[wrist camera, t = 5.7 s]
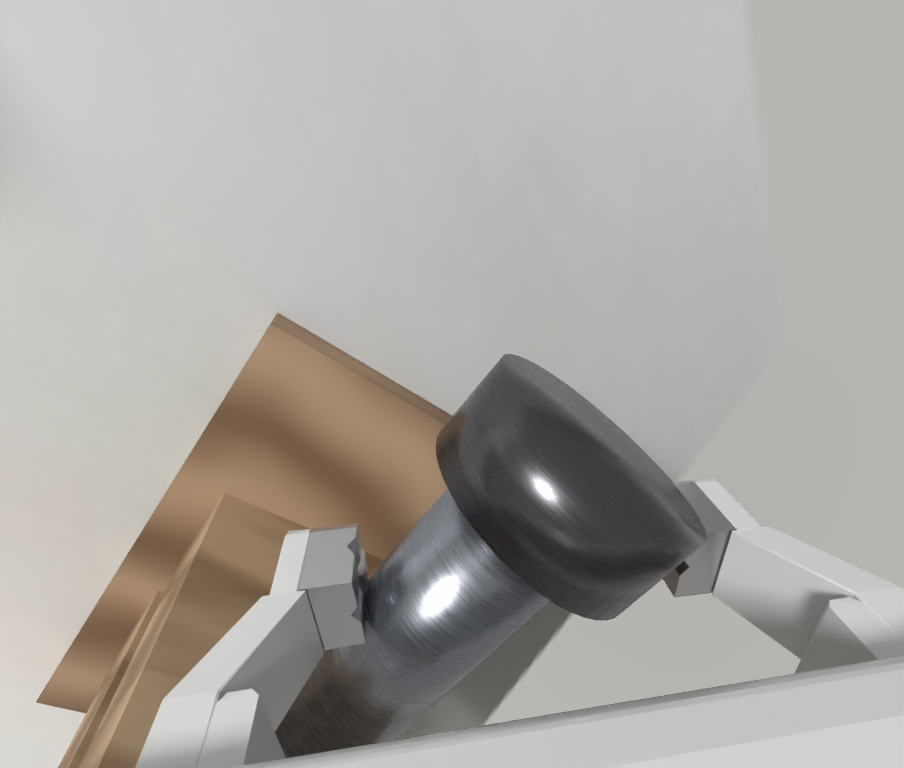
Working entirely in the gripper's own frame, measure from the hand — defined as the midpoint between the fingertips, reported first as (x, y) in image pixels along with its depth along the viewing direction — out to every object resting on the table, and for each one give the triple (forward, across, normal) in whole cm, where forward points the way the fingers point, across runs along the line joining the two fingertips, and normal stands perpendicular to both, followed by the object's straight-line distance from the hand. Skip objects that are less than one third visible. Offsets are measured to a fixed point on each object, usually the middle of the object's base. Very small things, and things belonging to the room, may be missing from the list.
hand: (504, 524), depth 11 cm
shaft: (+2, +7, +7) cm, 10 cm away
